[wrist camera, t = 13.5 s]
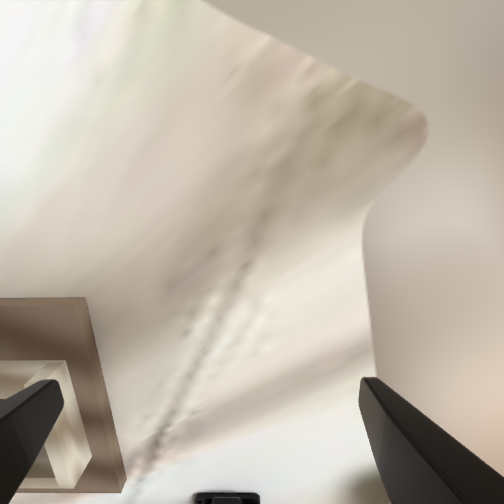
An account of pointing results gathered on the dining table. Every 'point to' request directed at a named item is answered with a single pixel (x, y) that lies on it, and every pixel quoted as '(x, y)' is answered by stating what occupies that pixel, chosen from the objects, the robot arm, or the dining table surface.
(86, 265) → the dining table surface
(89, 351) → the socket board
